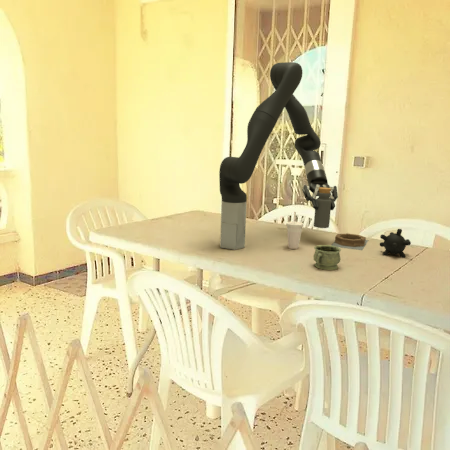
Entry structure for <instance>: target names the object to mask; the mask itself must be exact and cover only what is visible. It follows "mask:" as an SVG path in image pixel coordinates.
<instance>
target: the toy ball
mask: <svg viewBox="0 0 450 450" xmlns="http://www.w3.org/2000/svg"><path fill="white" fill-rule="evenodd" d="M402 232H403V230H402V228H397V231H396V232H395V233H394V232H390V233H389V234H388V235H385V234H384V233H383V234H380V239H381V240H383V241H382V242H381V241H380V242H379V246H380V247H381V248H383V247H384V249H385V250H384V251H383V252H382V256H385V257H386V256H388V255H389V254H391V255H399V256H400V257H401V258H403V259H404V258H406V254H405V253H404V250H405V249H406V247H407V246H410V245H411V243H412V242H411V241H410V239H405V237H404V236H403V235H402Z"/></svg>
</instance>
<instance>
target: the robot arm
mask: <svg viewBox="0 0 450 450" xmlns="http://www.w3.org/2000/svg"><path fill="white" fill-rule="evenodd" d="M302 78H303V68H302V66H301V64H300V63H298V62H293V61H290V62H288V61H286V62H276V63H274V64H273V65H272V66H271V68H270V71H269V79H270V81H271V84H272V87H273V88H274V91H273V93H272V94H270V96H268V97H267V98H265V100H263V101H262V102H261V103H260V104H259V105H258V106H257V107H256V108H255V109H254V111H253V113H252V114H251V117H250V119H249V121H248V123H247V129H246V132H247V133H246V135H247V137H246V138H247V141H246V144H245V146H244V149H243V151H242V152H241V154H240V155H239V156H238V157H237V156H227V157H225V158H223V160H222V161H221V163H220V165H219V173H218V175H219V178H218V179H219V193H220V197H221V206H220V207H221V208H220V209H221V211H220V238H219V239H220V241H219V242H220V243H219V247H220V248H221V249H228V250H235V251H237V250H239V249H244V248H245V246H246V225H247V224H246V223H247V199H248V195H247V193H246V192H245V191H244V190H242V188H241V185H242V184H245V183H247V182H248V181H249V180H250V179H251V177H252V176H253V174H254V171H255V168H256V167H257V166H256V165H257V163H258V161H259V158H260V157H261V154H262V151H263V150H264V148H265V145H266V143H267V141H268V139H269V138H270V135H271V134H272V132H273V131H274V128H275V126H276V125H277V123H278V120H279V118H280V117H281V115H282V113H283V111H284V109H285V110H286V112H287V115H288V117H289V120H290V122H291V123H290V124H291V126H292V128H293V132H294V134H296V135H298V136H299V137H297V138H295V140H294V148H295V150H296V152H297V153H298V154H299V156H300V157H301V159H302V162H303V166H304V173H305V176H306V181H307V184H308V186H307V185H306V184H304V185H303V187H302V189H301V191H302V193H303V196H304V198H305V200H306V201H307V202H310V203H311V204H312V208H313V210H314V211H315V210H317V209H318V202H317V197H319V195H317V194H318V192H319V188H320V187H324V188H331V191H330V193H331V196H329V199H331V211H334V209H335V208H336V203H335V202H336V201H337V199H338V198H339V197H338V195H339V193H338V186H336V185H333V186H330V185H329V183H328V178H327V174H326V170H325V168H324V165H323V162H322V158H321V155H320V153H319V151H316V150H319V148H320V146H321V145H322V144H321V139H320V137H319V136H318V134H317V133H316V131H315V130H314V129H313V126H312V125H311V122H310V119H309V115H308V113H307V110H306V109H305V107H304V106H303V104H302V103H301V102H300V101H299V100H298V99H297V97H296V96H295V95H294V93H295V91H296V90H297V88H298V87H299V85H300V83H301V81H302ZM300 135H302V136H300ZM240 184H241V185H240ZM310 192H311V193H312V194H311V193H310Z"/></svg>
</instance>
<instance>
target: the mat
mask: <svg viewBox="0 0 450 450" xmlns="http://www.w3.org/2000/svg"><path fill="white" fill-rule="evenodd" d="M368 242H369V240H368V239H366V240H365V245H364V246H359V247H350V246H343V245H340V244H337V243H335V240H334V241H333V243H332V244H330V245H331V246H336V247H339V248H340V249H349V250H358V251H363V250H364V249H365V247H366V245H367V244H368Z"/></svg>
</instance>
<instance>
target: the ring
mask: <svg viewBox="0 0 450 450" xmlns="http://www.w3.org/2000/svg"><path fill="white" fill-rule="evenodd" d="M365 240H367V238H366V236H363V235H360V234H355V233H337V234H336V235H335V237H334V241H335V243H337V244H340V245H343V246H350V247H359V246H364V245H365ZM365 246H366V245H365Z"/></svg>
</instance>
